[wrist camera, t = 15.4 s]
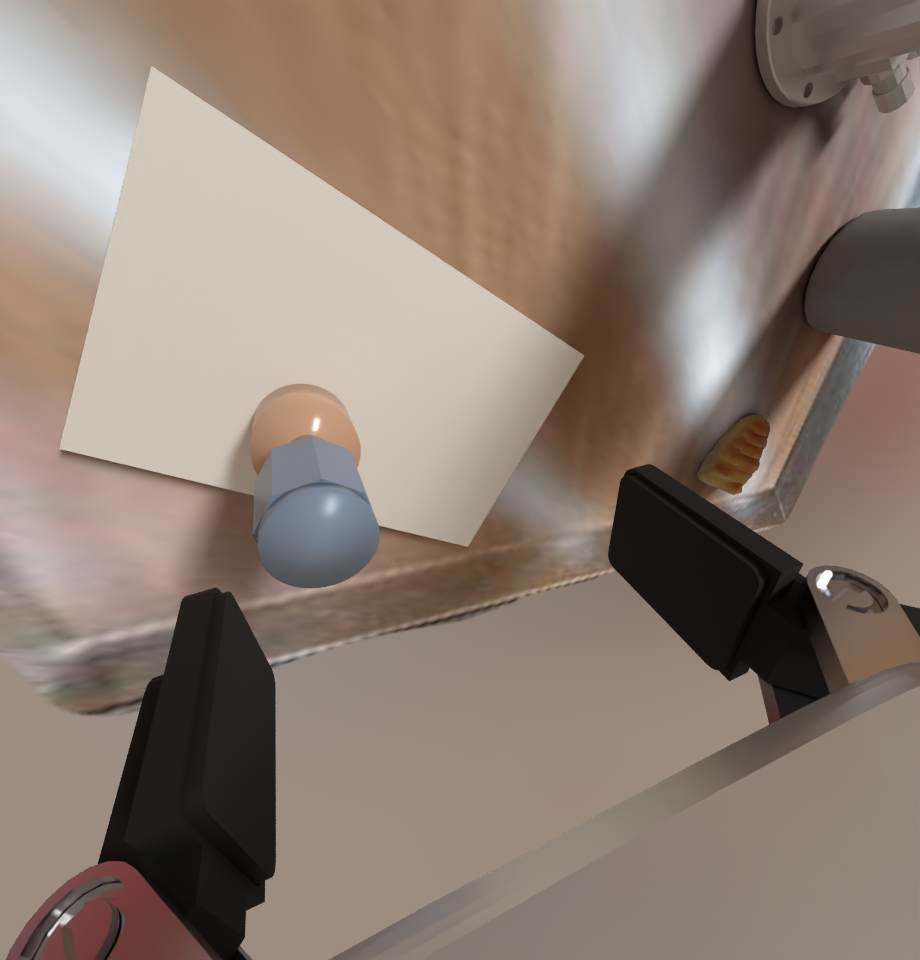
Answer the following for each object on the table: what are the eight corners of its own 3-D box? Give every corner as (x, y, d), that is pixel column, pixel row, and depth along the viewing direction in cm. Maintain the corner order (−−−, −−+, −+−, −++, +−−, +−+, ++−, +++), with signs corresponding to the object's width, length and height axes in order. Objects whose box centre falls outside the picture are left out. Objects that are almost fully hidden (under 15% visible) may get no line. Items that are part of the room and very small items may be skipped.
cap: (283, 423, 23) (287, 477, 18) (374, 459, 26) (399, 513, 21) (243, 506, 24) (238, 576, 19) (334, 530, 27) (348, 596, 22)
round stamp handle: (365, 405, 30) (406, 480, 21) (330, 480, 32) (355, 577, 23) (271, 367, 27) (274, 438, 18) (238, 454, 28) (227, 556, 20)
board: (577, 352, 36) (584, 355, 35) (463, 540, 41) (467, 546, 41) (156, 72, 20) (151, 66, 19) (65, 441, 25) (59, 448, 25)
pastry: (735, 404, 47) (768, 417, 44) (765, 418, 50) (798, 430, 47) (688, 478, 50) (716, 494, 47) (720, 486, 54) (747, 502, 51)
